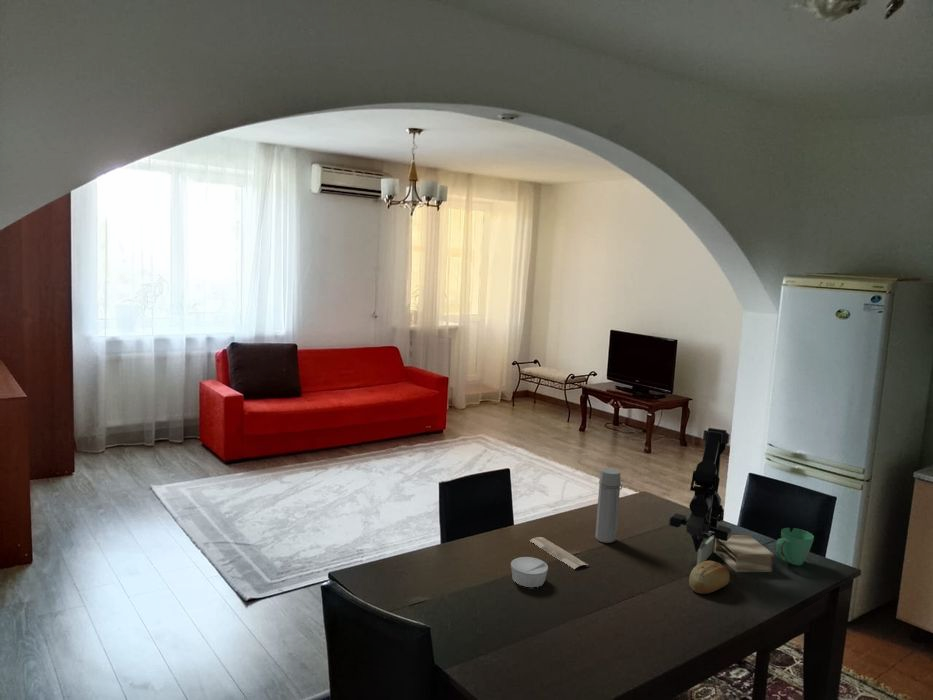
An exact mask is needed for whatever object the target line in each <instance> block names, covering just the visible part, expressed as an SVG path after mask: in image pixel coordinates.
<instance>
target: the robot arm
mask: <svg viewBox="0 0 933 700" xmlns="http://www.w3.org/2000/svg"><path fill="white" fill-rule="evenodd" d="M730 435H731V434H730V433H728V432H727V430H726V429H719V428H712V427H708V428H707V430H706V429H705V430H704V429H703V434H702V441H704V446H705V447H704V452H703V455H702V460H701V461H700V462H698V463H697V464H696V467H695V470H693V472H692V477H691V482H690V487H689V491H692V492H694V494H693V497H692V498H691V500H690V503H689V505H688V507H689V510H690V512H691V513H690V515H689V518H688V519H687V516H686V515H684V514H680V513H677V512H676V513H674V514H673V515H671V516H670V518H669V520H668V521H669V522H668V525H669V526H671V527H675V528H679V527H681V526H685V527H686V530H685V531H686V533H687V534H689V535H690V537H691V539H692V542H693V546H694V550H695V552H696V553H698V549H699V548H700V547H701V546H702V545H703V544H704V541H705V539H709V538H710V537H712V535H714V536H715V537H714V538H715V539H719V540H723V541H727V540H728V539H729V538H730V537H731V535H732V529H731V528H730V527H728V526H723V525H721V524H719V525H718V522H719V523H721V522H723V521H724V518H725V517H724V516H725V510H724V508H723V504H722V498H721V496H720V495H719V494H720V493H719V492H718V491H719V488H720V469H721V459H722V458H721V457H722V454H723V453H724V452H725V450H726V448H727V446H728V445H729V444H730V439H731V437H730ZM694 484H695V485H694Z"/></svg>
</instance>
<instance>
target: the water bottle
mask: <svg viewBox="0 0 933 700" xmlns="http://www.w3.org/2000/svg"><path fill="white" fill-rule="evenodd" d="M598 484H599V485H598V495H597V496H598V497H597V499H598V500H597V510H596V524H595V525H596V526H595V538H596V540H597V541H599V542H601V543H605V544H611V543H614V542H615V541H616V539H617V531H618V525H619V522H618V521H619V503H620V492H621V491H620V490H622V489H623V485H622V484H621V471H620V470H619V469H616V468H609V467H607V468H602V469H601V471H600V476H599V481H598Z"/></svg>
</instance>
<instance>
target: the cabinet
mask: <svg viewBox="0 0 933 700" xmlns="http://www.w3.org/2000/svg"><path fill="white" fill-rule="evenodd" d="M713 553H715V554H716V555H717V557H719V558H720V559H721V560H723V561H724V562H725V563H726V564H727V565H728V566H729V567H730V568H731V569H733V570H734V571H735V572H736V573H772V572H773V563H774V553H773V552H772V551H770V550H769V549H768V548H766V547H765V546H764V545H762V544H761V543H760V542H759V541H757V540H756V539H755V538H753V537H752V536H751V535H750V534H731V537H730V538H729V539H728V540H727V541H723V540H719V539H716V538H714V547H713Z"/></svg>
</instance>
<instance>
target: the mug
mask: <svg viewBox="0 0 933 700" xmlns="http://www.w3.org/2000/svg"><path fill="white" fill-rule="evenodd" d="M814 540H815V536H814V535H813V533H811V532H809V531H807V530H803V529H800V528H795V527H793V528H792V530H791V528H790V527H784V528H781V531H780V538H778V539H776V542H775V552H776V554H777V555H778V557H779V558H780V559H781V560H782V561H785V562H787V563H788V564H790V565H794V566H802V565H803V563H804V562H805V560H806V558H807V557H808V555H809V553H810V551H811V548H812V544H813V542H814Z"/></svg>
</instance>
